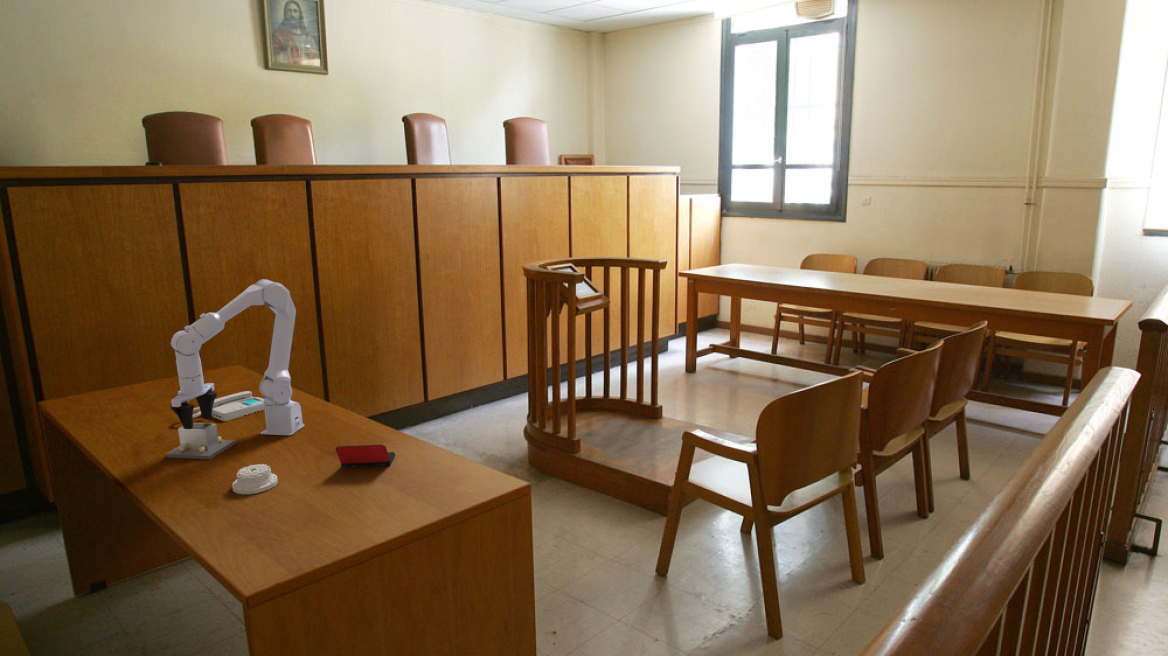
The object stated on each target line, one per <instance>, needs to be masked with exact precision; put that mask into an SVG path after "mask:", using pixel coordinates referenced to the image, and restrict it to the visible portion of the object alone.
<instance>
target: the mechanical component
mask: <svg viewBox="0 0 1168 656" xmlns="http://www.w3.org/2000/svg"><path fill="white" fill-rule="evenodd" d="M278 480H279V479H278V476H277V474H275V473H272V469H271V466H270V465H267V464H266V463H262V464H261V463H258V464H250V465H249V466H243V467H242V468H240V469H238V470H237V473H236V479H235V481H233V482H232V485H231V486H232V491H233V492H234V493H235V494H238V495H254V494H255V495H256V494H259V493H262V492H266V491H268V490H271V489H272V488H274V487H275V486H277V484H278V482H279V481H278Z"/></svg>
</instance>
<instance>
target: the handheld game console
mask: <svg viewBox="0 0 1168 656" xmlns="http://www.w3.org/2000/svg"><path fill="white" fill-rule="evenodd" d="M335 452H336V455H337V456H338V460H339V462H340V467H341V468H342V469H351V468H353V469H354V468H363V467H370V468H373V467H376V468H378V467H379V468H380V467H390V466H391V465H392V462H393V461H394V459H395V457H396V453H395V451H394V452H393V451H390V452H388V449H387V447H386V445H385V444H369V445H368V444H367V445H365V444H364V445H345V446H344V445H343V446H342V445H340V446H336V448H335Z"/></svg>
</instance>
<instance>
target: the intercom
mask: <svg viewBox="0 0 1168 656" xmlns="http://www.w3.org/2000/svg"><path fill="white" fill-rule="evenodd" d="M252 394H253V392H252V391H249V390H247V391H246V390H245V391H240V392H237V393H236V392H235V393H232V394H229V395H226V396H225V395H224V396H222V397H218V398H217V397H216V398H215V400H214V404H213V408H212V415H211V417H212V418H214V419H217V420H220V421H222V422H228V421H232V420H235V419H238V418H242V417H245V416H244V415H246V416H248V414H249V415H252V414H255V413H254V412H256V413H258V412H257V411H259V412H262V411H265V410H264V402H263V401H264V398H262V397H259V396H257V397H256V396H252ZM261 410H262V411H261ZM194 412H196V413H194ZM193 413H194V414H193V416H192V417H193V419H194V418H198V417H200V416H202V415H201V411H200V407H199V406H197V407H194V409H193ZM251 413H252V414H251ZM176 417H177V418H178V419H179V417H178V416H177V415H176Z"/></svg>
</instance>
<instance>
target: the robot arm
mask: <svg viewBox="0 0 1168 656" xmlns="http://www.w3.org/2000/svg"><path fill="white" fill-rule="evenodd" d="M265 304H266V306H268V307H269V309H270V310H271V311H272V312H273V313H274V314H275V317H274V318H275V319H274V324H273V330H272V331H273V332H272V339H271V346H270V353H269V361H268V367H267V369H266V370H265V371H264V372H263V373H264V375H263V378H262V380H261V381H260V383H259V386H258V388H259V393H260V394H261V395H263V396H264V397H263V399H264V401H263V402H264V410H263V411H264V416H265V426H266V429H264V430H262V431H261V432H260V434H261V435H267V436H268V435H270V436H274V435H275V436H292V435H293V434H295V433H297V432H298V431H299V430H301V429H302V428H303V427H305V424H304V423H303V415H302V413H303V412H302V407H301V404H300V403H299V402H298V401H293V400H292V399H291V398H292V396H293V387H292V386H291V381H292V378H291V375H290V372H289V365H290V359H291V350H292V343H293V335H294V329H295V323H296V314H297V309H296V307H295V304H294V301H293V300H292V296H291V292H290V290H289V289H288V288H286V286H284V285H283V284H282V283H280V282H275V281H272V280H269V279H267V278H266V279H260V280H257V282H255V283H254V284H251V285H250V286H248V287H246V289H245V290H244V291H242V292H241V293H239V295H237V296H236V297H235V298H234V299H232V300H231V301H229V302H228V303H227V304H225V305H224V306H223V307H222V308H221V309H219V310H218V311H216V312H207V313H204V312H203V313H202V314H200V315H199V319H197V320H196V321H195V322H194V321H193V323H191V324H190V325H185V326H184V330H179V331H177V332H175V333H174V334H173V335H172V338H171V340H170V341H171V342H170V346H171V347H172V349H173V350H174V352H175V359H176V360H175V363H176V369H177V375H178V382H179V388H180V389H179V390H178V391H177V395H176V396H175V397H173V398H172V399H171V401H170V402H171V404H170V409H171V411H173V413H174V414H175V415H176V417H177V416H178V417H179V418H178V417H177V418H178V419H179V421H180V423H181V425H182V426H183V427H184V429H192V428H193V423H194V418H193V417H192V416H193V413H194V412H193V409H194V408H195V404H190V403H188V402H190V401H191V400H193V399H196V401H197V404H198V407H200V410H199V411H201V415H200V416H201V417H202V419H203V420H210V419H212V408H213V404H214V400H215V399H217V396H218V393H217V391H215V383H213V382H207V383H205V381H204V375H203V367H202V362H201V357H200V350H201V347H202V346H203V344H204V343H207V341H209V340H210V339H212V338H213V337H214V336H216V335H217V334H218V333H220V332H221V331H223V330H224V329H225V324H226V322H228V321H229V320H230V319H232V318H234V317H235V316H237V315H238V314H241V312H243V311H245V310H246V309H248V308H249V307H250V306H262V305H263V306H265Z"/></svg>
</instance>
